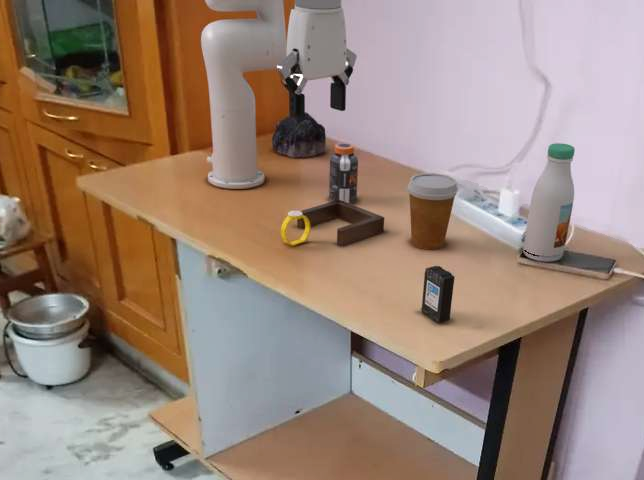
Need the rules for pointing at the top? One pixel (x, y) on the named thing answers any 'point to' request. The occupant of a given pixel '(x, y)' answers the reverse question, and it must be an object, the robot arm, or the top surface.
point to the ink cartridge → (437, 293)
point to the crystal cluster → (299, 137)
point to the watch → (289, 218)
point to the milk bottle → (551, 206)
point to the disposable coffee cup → (430, 208)
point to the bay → (361, 219)
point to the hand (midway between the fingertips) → (317, 113)
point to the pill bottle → (343, 174)
